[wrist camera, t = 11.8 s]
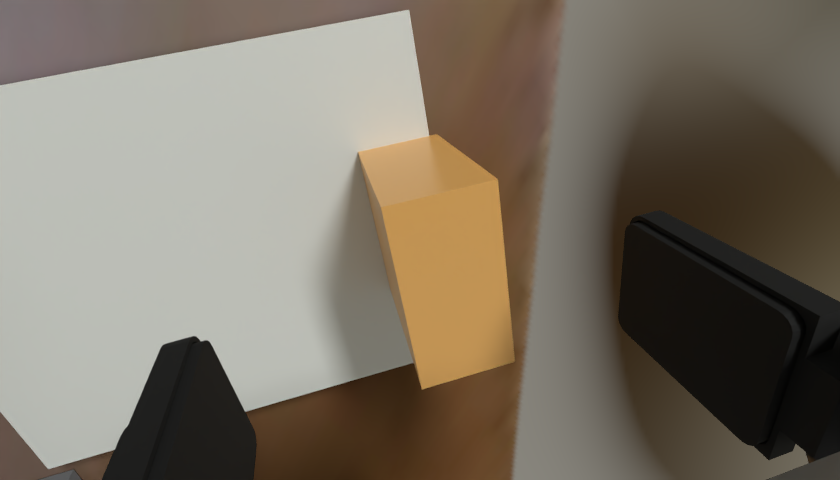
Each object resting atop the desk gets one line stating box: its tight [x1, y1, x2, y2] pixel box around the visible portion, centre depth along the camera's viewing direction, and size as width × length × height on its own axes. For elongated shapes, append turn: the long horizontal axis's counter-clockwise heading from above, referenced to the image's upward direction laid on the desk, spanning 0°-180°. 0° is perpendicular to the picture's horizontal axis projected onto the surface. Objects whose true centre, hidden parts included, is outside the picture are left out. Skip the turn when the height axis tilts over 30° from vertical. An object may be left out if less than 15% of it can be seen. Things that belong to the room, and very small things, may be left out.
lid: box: [0, 10, 515, 469], centre depth 15 cm, size 14×19×8 cm
